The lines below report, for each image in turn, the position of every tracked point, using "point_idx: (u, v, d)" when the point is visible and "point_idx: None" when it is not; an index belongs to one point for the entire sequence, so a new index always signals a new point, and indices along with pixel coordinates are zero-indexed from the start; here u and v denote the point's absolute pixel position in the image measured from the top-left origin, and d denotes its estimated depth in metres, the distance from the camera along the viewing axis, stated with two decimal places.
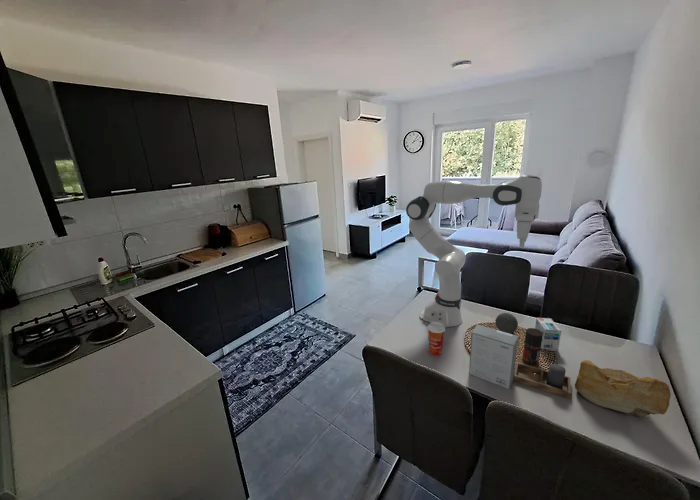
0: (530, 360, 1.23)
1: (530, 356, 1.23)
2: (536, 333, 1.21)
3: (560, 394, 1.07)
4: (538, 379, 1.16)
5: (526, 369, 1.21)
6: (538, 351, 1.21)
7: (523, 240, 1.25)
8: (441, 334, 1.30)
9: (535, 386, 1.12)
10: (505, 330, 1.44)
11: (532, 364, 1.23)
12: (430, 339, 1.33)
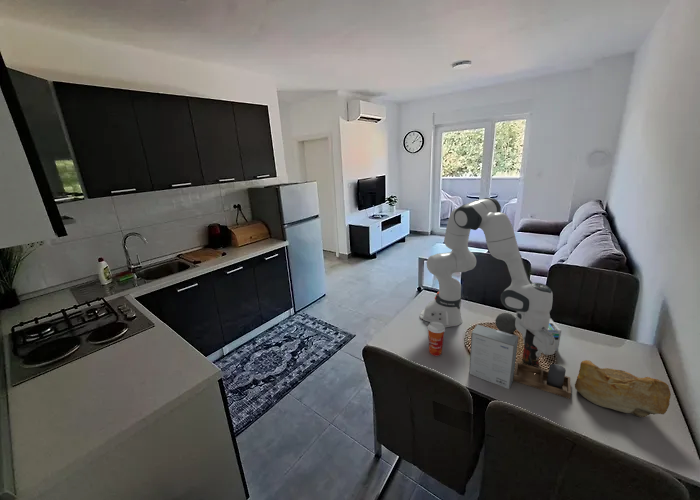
0: (530, 360, 1.23)
1: (530, 356, 1.23)
2: None
3: (560, 394, 1.07)
4: (538, 379, 1.16)
5: (526, 369, 1.21)
6: None
7: None
8: (441, 334, 1.30)
9: (535, 386, 1.12)
10: (505, 330, 1.44)
11: (532, 364, 1.23)
12: (430, 339, 1.33)
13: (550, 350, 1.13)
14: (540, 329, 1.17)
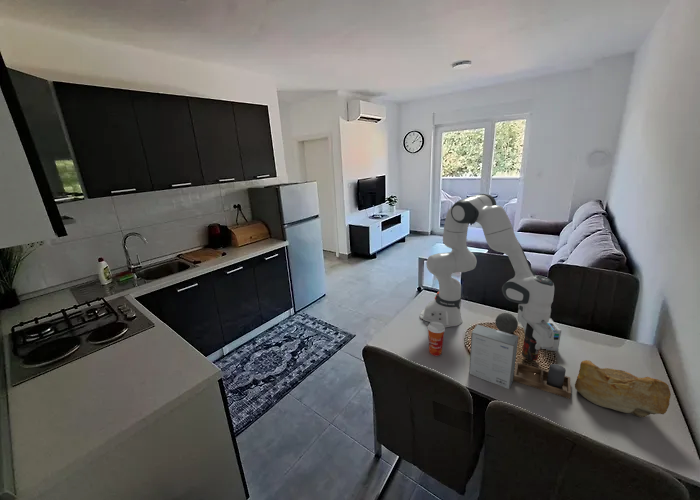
0: (529, 354, 1.23)
1: (529, 349, 1.23)
2: None
3: (560, 394, 1.07)
4: (538, 379, 1.16)
5: (526, 369, 1.21)
6: None
7: None
8: (441, 334, 1.30)
9: (535, 386, 1.12)
10: (505, 330, 1.44)
11: (531, 357, 1.23)
12: (430, 339, 1.33)
13: (547, 343, 1.12)
14: (540, 322, 1.16)
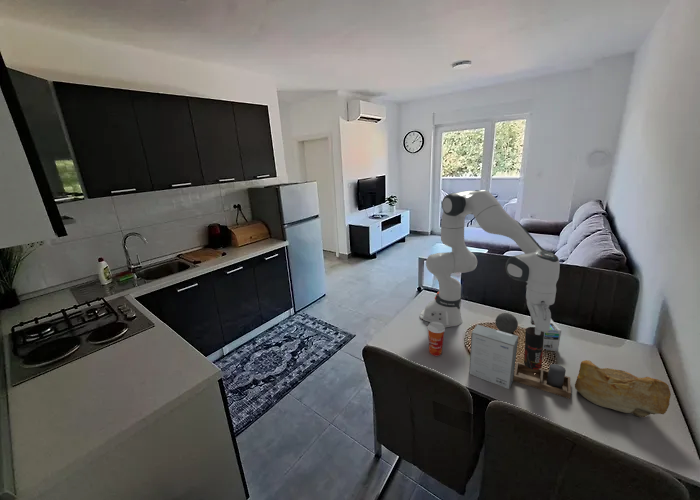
0: (528, 361, 1.13)
1: (528, 356, 1.12)
2: None
3: (560, 394, 1.07)
4: (538, 379, 1.16)
5: (526, 369, 1.21)
6: (537, 353, 1.10)
7: None
8: (441, 334, 1.30)
9: (535, 386, 1.12)
10: (505, 330, 1.44)
11: (530, 366, 1.13)
12: (430, 339, 1.33)
13: (542, 326, 1.00)
14: (539, 303, 1.03)
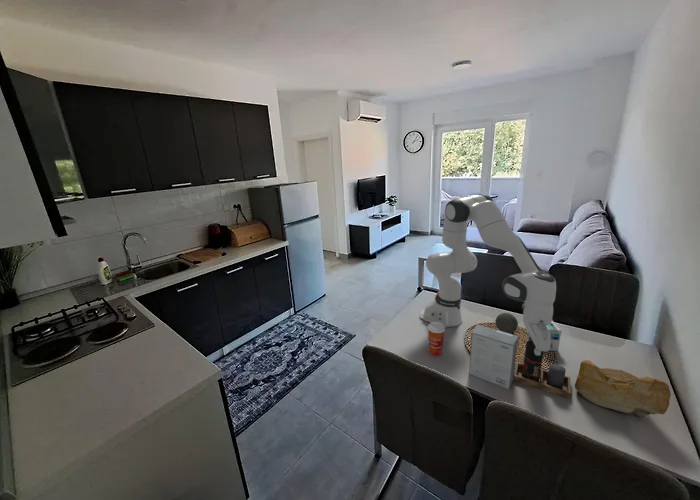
0: (526, 374, 1.15)
1: (527, 369, 1.15)
2: None
3: (560, 394, 1.07)
4: None
5: None
6: (536, 366, 1.12)
7: None
8: (441, 334, 1.30)
9: (535, 386, 1.12)
10: (505, 330, 1.44)
11: (528, 378, 1.15)
12: (430, 339, 1.33)
13: (543, 346, 1.01)
14: (538, 322, 1.05)
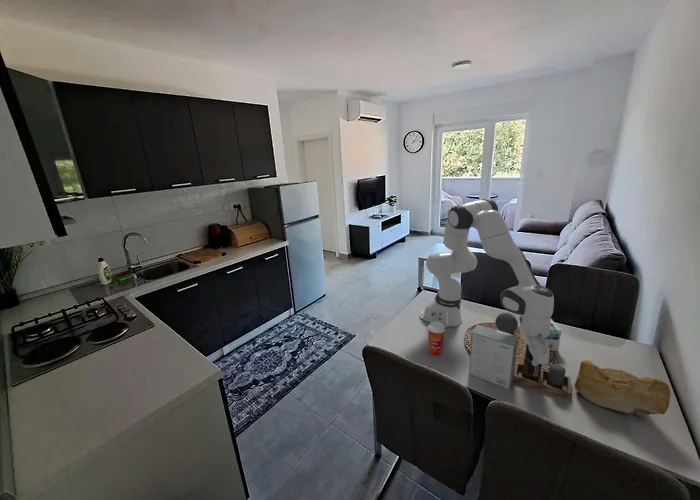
0: (526, 374, 1.15)
1: (527, 369, 1.14)
2: None
3: (560, 394, 1.07)
4: None
5: None
6: (536, 367, 1.12)
7: None
8: (441, 334, 1.30)
9: (535, 386, 1.12)
10: (505, 330, 1.44)
11: (528, 378, 1.15)
12: (430, 339, 1.33)
13: (542, 359, 1.03)
14: (536, 336, 1.07)
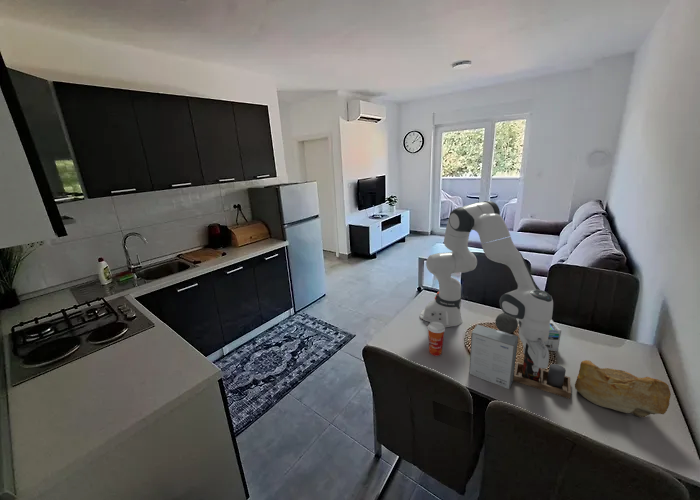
0: (526, 374, 1.15)
1: (527, 369, 1.15)
2: None
3: (560, 394, 1.07)
4: None
5: None
6: None
7: None
8: (441, 334, 1.30)
9: (535, 386, 1.12)
10: (505, 330, 1.44)
11: (528, 378, 1.15)
12: (430, 339, 1.33)
13: (541, 364, 1.04)
14: (535, 340, 1.07)
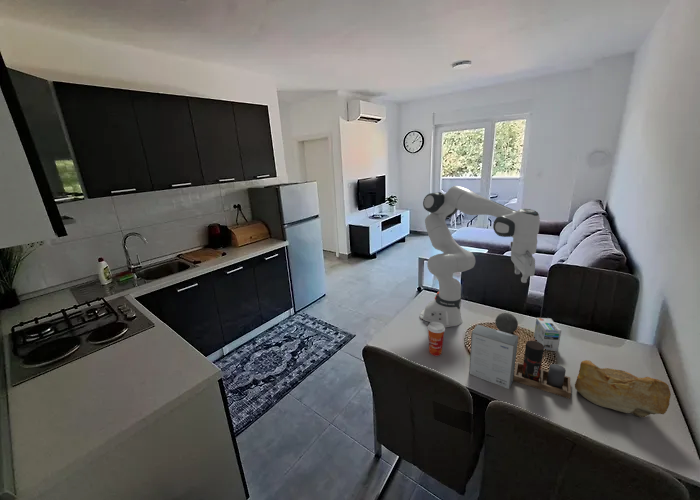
0: (526, 374, 1.15)
1: (527, 369, 1.15)
2: (535, 346, 1.12)
3: (560, 394, 1.07)
4: None
5: None
6: (536, 366, 1.12)
7: None
8: (441, 334, 1.30)
9: (535, 386, 1.12)
10: (505, 330, 1.44)
11: (528, 378, 1.15)
12: (430, 339, 1.33)
13: (528, 271, 1.17)
14: (524, 252, 1.21)
